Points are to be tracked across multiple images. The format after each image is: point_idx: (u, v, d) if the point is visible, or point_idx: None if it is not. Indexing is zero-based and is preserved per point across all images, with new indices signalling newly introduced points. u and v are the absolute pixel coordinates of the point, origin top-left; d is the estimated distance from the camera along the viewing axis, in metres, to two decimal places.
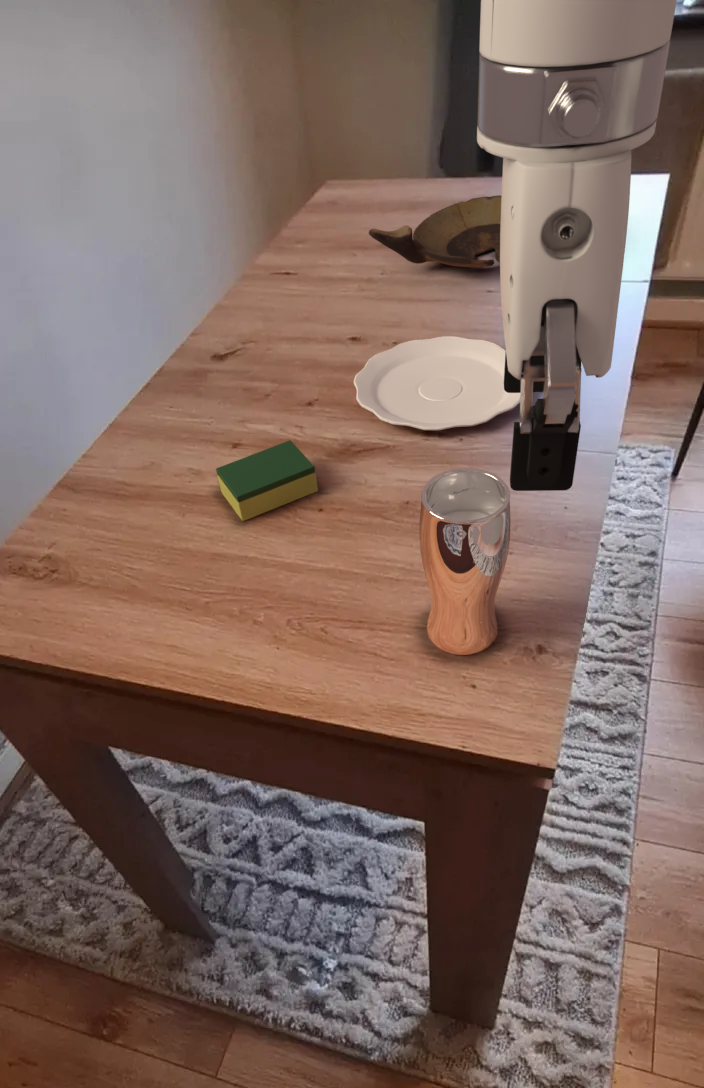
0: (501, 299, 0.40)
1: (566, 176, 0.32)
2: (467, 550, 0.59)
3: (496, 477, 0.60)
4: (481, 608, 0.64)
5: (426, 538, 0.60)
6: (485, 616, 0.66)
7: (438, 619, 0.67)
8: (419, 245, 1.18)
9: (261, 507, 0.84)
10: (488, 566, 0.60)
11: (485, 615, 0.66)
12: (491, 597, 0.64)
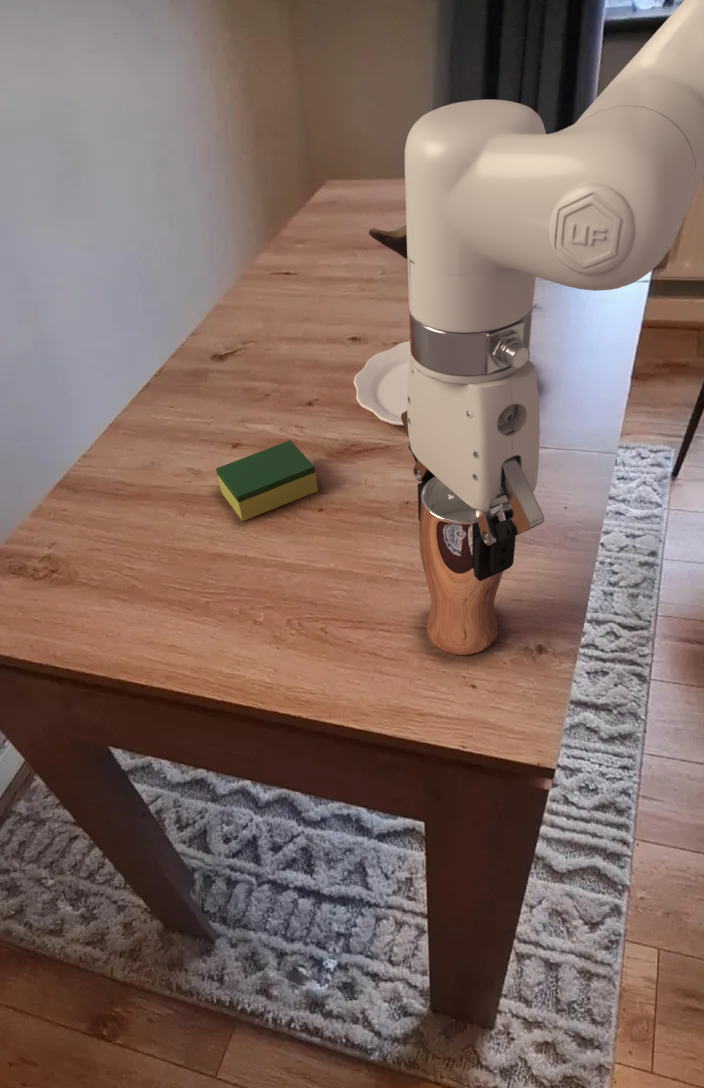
0: (445, 462, 0.55)
1: (507, 387, 0.48)
2: (467, 550, 0.59)
3: None
4: (481, 608, 0.64)
5: (426, 538, 0.60)
6: (485, 616, 0.66)
7: (438, 619, 0.67)
8: None
9: (261, 507, 0.84)
10: None
11: (485, 615, 0.66)
12: (491, 597, 0.64)
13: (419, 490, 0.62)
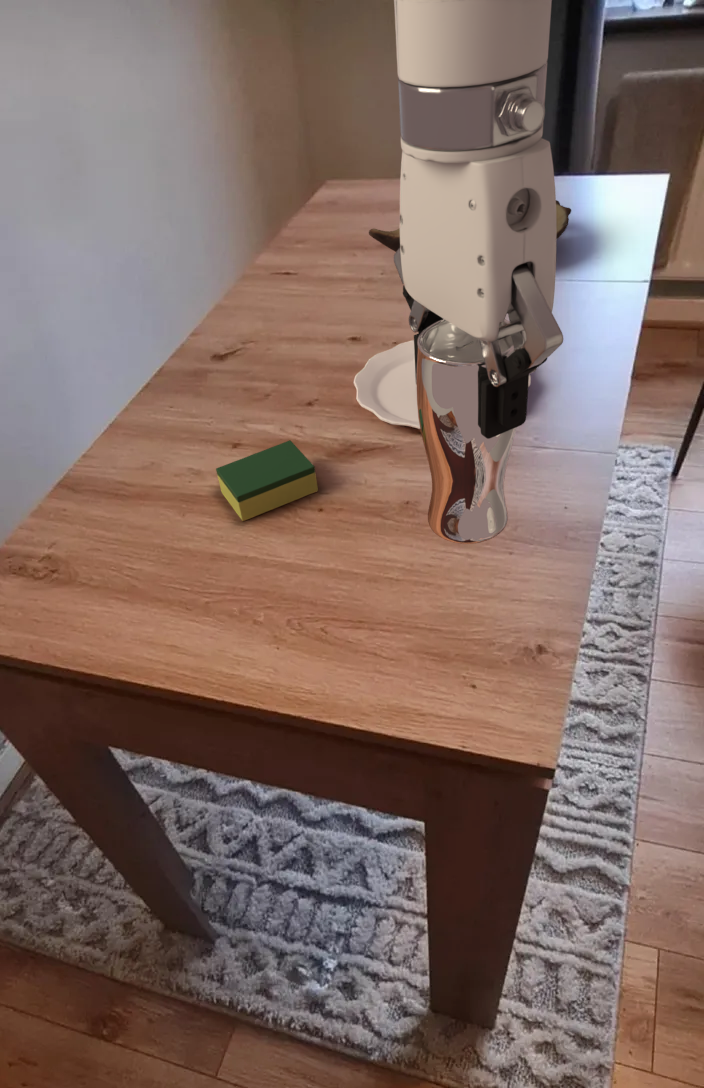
0: (444, 285, 0.47)
1: (518, 164, 0.40)
2: (472, 401, 0.50)
3: (504, 320, 0.52)
4: (489, 483, 0.56)
5: (424, 393, 0.52)
6: (494, 495, 0.57)
7: (440, 501, 0.58)
8: None
9: (261, 507, 0.84)
10: None
11: (493, 494, 0.57)
12: (500, 469, 0.56)
13: (416, 343, 0.54)
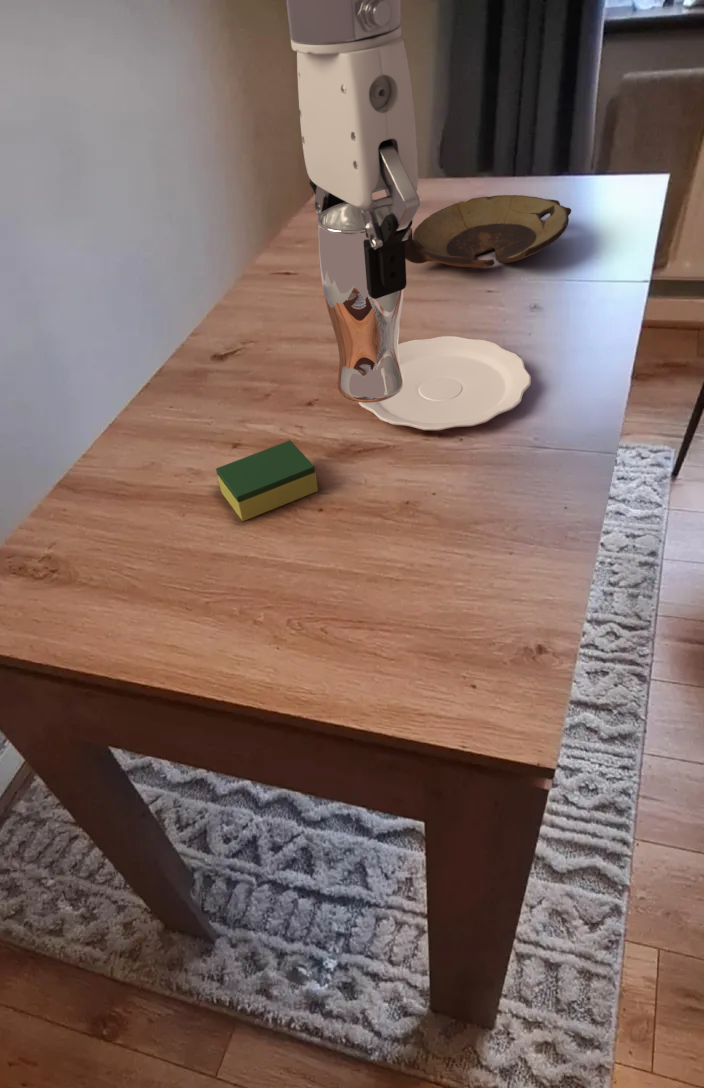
0: (331, 164, 0.58)
1: (376, 55, 0.51)
2: (359, 265, 0.62)
3: None
4: (382, 345, 0.67)
5: (323, 262, 0.63)
6: (388, 357, 0.69)
7: (344, 365, 0.70)
8: (419, 245, 1.18)
9: (261, 507, 0.84)
10: None
11: (387, 356, 0.68)
12: (391, 333, 0.67)
13: None
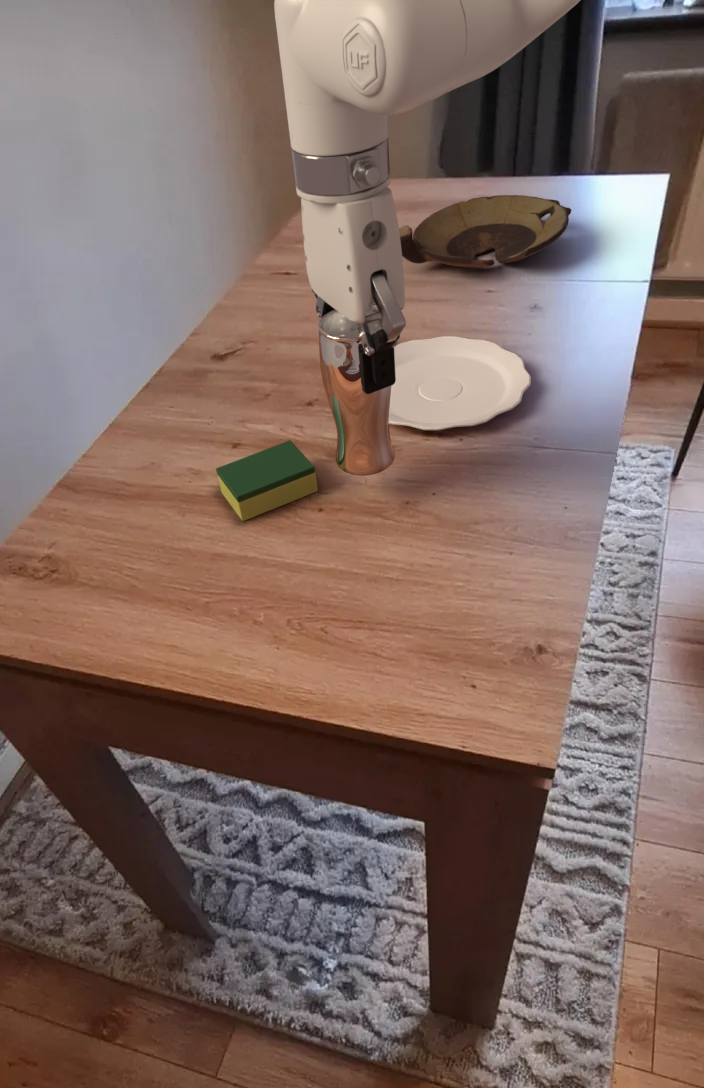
0: (330, 284, 0.67)
1: (368, 205, 0.61)
2: (354, 366, 0.71)
3: None
4: (374, 428, 0.77)
5: (323, 360, 0.73)
6: (380, 438, 0.78)
7: (341, 443, 0.79)
8: (419, 245, 1.18)
9: (261, 507, 0.84)
10: None
11: (379, 437, 0.78)
12: (383, 418, 0.76)
13: None
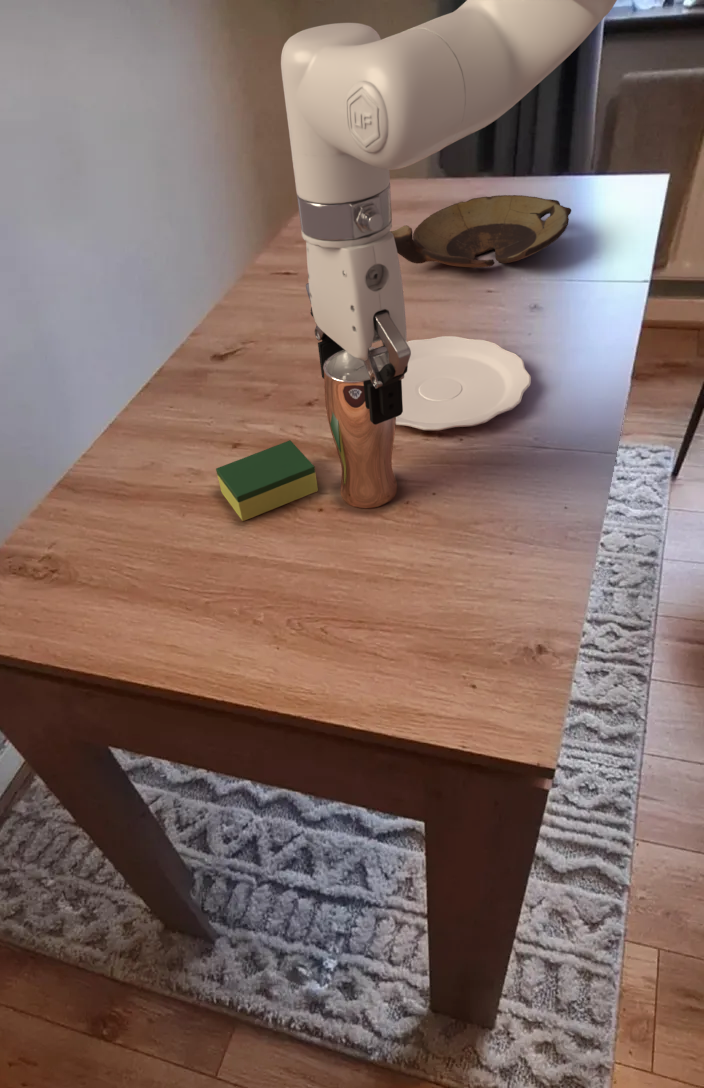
0: (334, 322, 0.70)
1: (371, 250, 0.63)
2: (359, 407, 0.74)
3: None
4: (378, 464, 0.80)
5: (328, 400, 0.76)
6: (382, 473, 0.81)
7: (346, 477, 0.82)
8: (419, 245, 1.18)
9: (261, 507, 0.84)
10: None
11: (382, 472, 0.81)
12: (385, 455, 0.79)
13: (319, 348, 0.77)
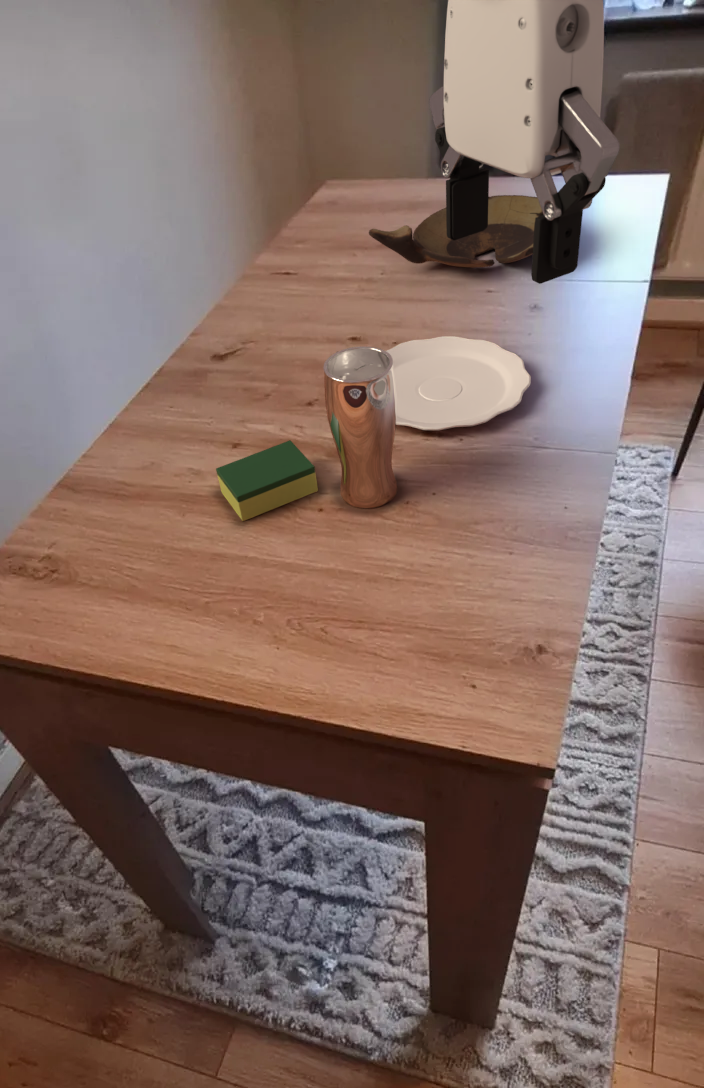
0: (489, 122, 0.47)
1: None
2: (359, 407, 0.74)
3: (384, 351, 0.75)
4: (378, 464, 0.80)
5: (328, 400, 0.76)
6: (382, 473, 0.81)
7: (346, 477, 0.82)
8: (419, 245, 1.18)
9: (261, 507, 0.84)
10: (377, 422, 0.75)
11: (382, 472, 0.81)
12: (385, 455, 0.79)
13: (448, 188, 0.55)
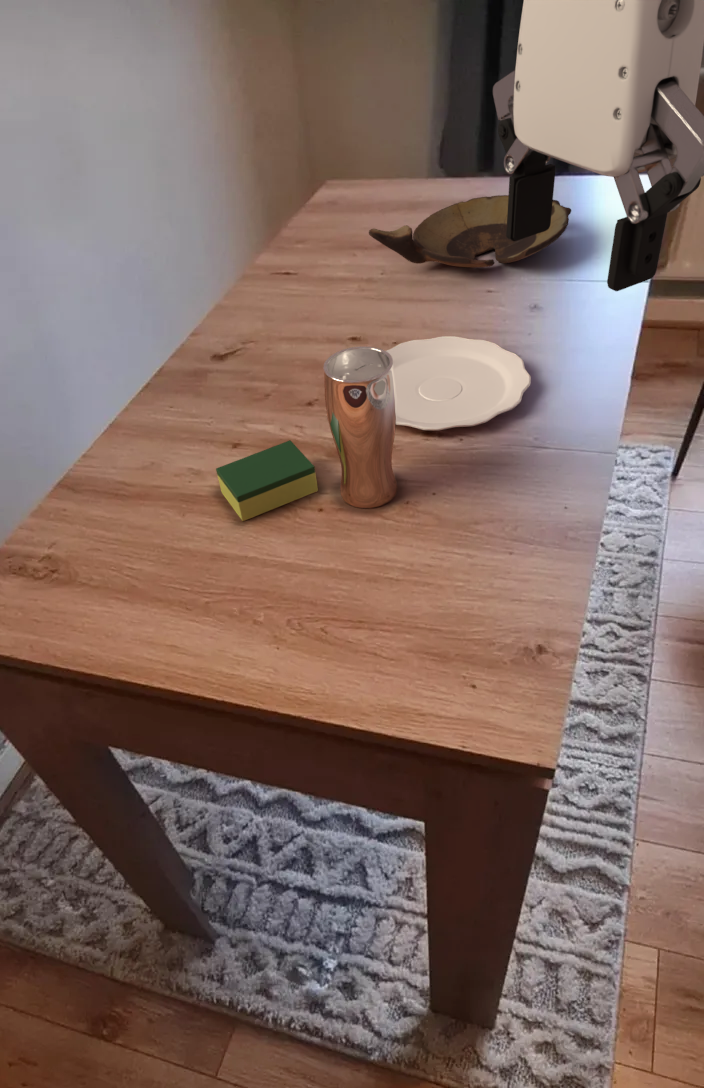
0: (570, 114, 0.43)
1: None
2: (359, 407, 0.74)
3: (384, 351, 0.75)
4: (378, 464, 0.80)
5: (328, 400, 0.76)
6: (383, 473, 0.81)
7: (346, 477, 0.82)
8: (419, 245, 1.18)
9: (261, 507, 0.84)
10: (377, 422, 0.75)
11: (382, 472, 0.81)
12: (385, 455, 0.79)
13: (511, 185, 0.51)
